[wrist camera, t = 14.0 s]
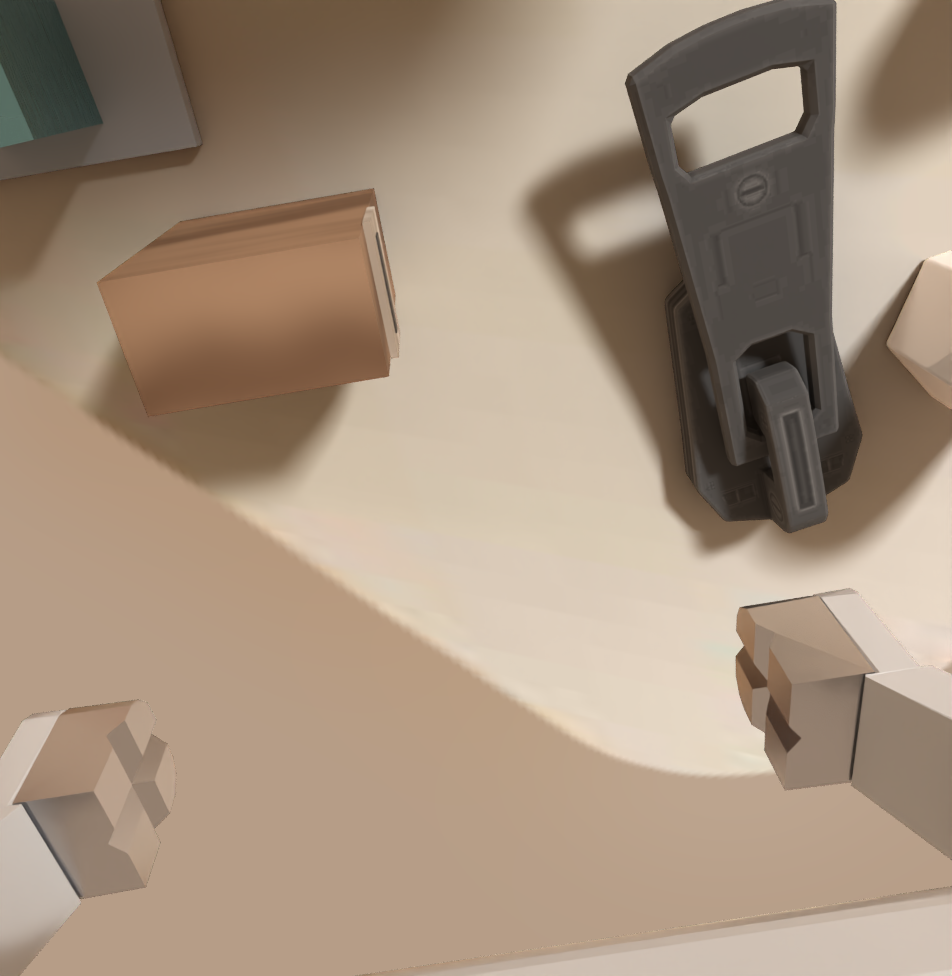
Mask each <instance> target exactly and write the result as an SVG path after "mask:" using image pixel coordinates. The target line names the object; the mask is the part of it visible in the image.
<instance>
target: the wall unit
mask: <svg viewBox="0 0 952 976" xmlns="http://www.w3.org/2000/svg"><path fill="white" fill-rule="evenodd" d="M97 285H98V287H99V290H100V292H101V295H102V298H103V300H104V303H105V306H106V308H107V311H108V313H109V316H110V319H111V321H112V324H113V326H114V329H115V332H116V334H117V337H118V339H119V342H120V345H121V347H122V350H123V353H124V355H125V358H126V360H127V363H128V366H129V368H130V371H131V373H132V376H133V379H134V381H135V384H136V386H137V389H138V392H139V394H140V397H141V400H142V402H143V405H144V407H145V410H146V413H147V415H148V417H149V416H155V415H161V414H167V413H173V412H179V411H185V410H191V409H197V408H203V407H209V406H215V405H221V404H227V403H233V402H239V401H244V400H250V399H256V398H262V397H268V396H274V395H280V394H286V393H292V392H298V391H304V390H310V389H316V388H322V387H328V386H334V385H340V384H346V383H352V382H358V381H364V380H370V379H376V378H382V377H388V376H389V369H390V357H391V359H392V358H398V357H399V342H400V330H399V325H398V320H397V315H396V310H395V291H394V286H393V281H392V276H391V271H390V266H389V261H388V256H387V251H386V246H385V241H384V237H383V232H382V227H381V222H380V217H379V212H378V207H377V202H376V197H375V192H374V188H373V189H368V190H362V191H356V192H350V193H344V194H338V195H333V196H327V197H321V198H315V199H309V200H303V201H297V202H292V203H286V204H280V205H274V206H268V207H262V208H256V209H251V210H245V211H239V212H233V213H227V214H221V215H215V216H210V217H204V218H198V219H192V220H186V221H180V222H179V223H178V224H176V225H175V226H173V227H172V228H171V229H169V230H168V231H167V232H165V233H164V234H163V235H161V236H160V237H158V238H157V239H156V240H154V241H153V242H152V243H150V244H149V245H147V246H146V247H145V248H143V249H142V250H141V251H139V252H138V253H137V254H135V255H134V256H132V257H131V258H130V259H128V260H127V261H126V262H124V263H123V264H121V265H120V266H119V267H117V268H116V269H115V270H113V271H112V272H111V273H109V274H108V275H106V276H105V277H104V278H102V279H101V280H100V281H98V282H97Z"/></svg>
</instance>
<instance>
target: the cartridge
mask: <svg viewBox="0 0 952 976" xmlns="http://www.w3.org/2000/svg"><path fill="white" fill-rule="evenodd" d="M98 124H103V121H102V119H101V116H100V114H99V111H98V109H97V106H96V104H95V101H94V98H93V96H92V93H91V91H90V88H89V86H88V83H87V81H86V78H85V76H84V73H83V71H82V68H81V66H80V63H79V61H78V58H77V56H76V53H75V51H74V48H73V46H72V43H71V40H70V38H69V35H68V33H67V30H66V28H65V25H64V23H63V20H62V18H61V15H60V13H59V10H58V8H57V5H56V3H55V1H53V0H0V148H1V147H5V146H10V145H14V144H18V143H22V142H27V141H31V140H35V139H39V138H43V137H48V136H52V135H56V134H60V133H65V132H69V131H73V130H77V129H82V128H86V127H90V126H94V125H98Z"/></svg>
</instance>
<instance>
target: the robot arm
mask: <svg viewBox="0 0 952 976" xmlns="http://www.w3.org/2000/svg"><path fill="white" fill-rule="evenodd" d="M736 631H737V633H738V635H739V637H740V639H741V641H742V642H743V644H744V647H743V648H742V649H741V650H740V652H739V653H738V654H737V655H736V679H737V684H738V690H739V695H740V698H741V701H742V704H743V707H744V710H745V712H746V714H747V716H748V718H749V720H750V722H751V724H752V725H753V726H755V727H756V728H758V729H760V730H761V731H763V732H764V733H765V748H764V751H765V753H766V754H767V756H768V758H769V760H770V762H771V764H772V766H773V768H774V770H775V772H776V774H777V776H778V778H779V780H780V782H781V784H782V786H783V788H784V789H785V790H793V789H801V788H808V787H817V786H825V785H833V784H841V783H849V782H852V783H851V786H853V787H854V788H855V789H857V790H858V791H859V792H861V793H862V794H863V795H865V796H866V797H867V798H869V799H870V800H872V801H873V802H874V803H876V804H877V805H878V806H880V807H881V808H882V809H884V810H885V811H886V812H888V813H889V814H890V815H892V816H893V817H894V818H896V819H897V820H898V821H900V822H901V823H903V824H904V825H905V826H906V827H908V828H909V829H910V830H912V831H913V832H915V833H916V834H918V835H919V836H920V837H921V838H923V839H924V840H925V841H927V842H928V843H929V844H931V845H932V846H933V847H935V848H936V849H937V850H939V851H940V852H941V853H943V854H944V855H946V856H947V857H948V858H950V859H951V860H952V674H950V673H948V672H946V671H943V670H941V669H939V668H937V667H935V666H932V665H928V666H921V667H920V666H919V665H918V664H917V662H916V661H915V660H914V659H913V658H912V656H911V655H910V654H909V653H908V652H907V650H906V649H905V648H904V647H903V646H902V644H901V643H900V642H899V641H898V640H897V638H896V637H895V636H894V635H893V634H892V632H891V631H890V630H889V629H888V628H887V626H886V625H885V624H884V623H883V622H882V620H881V619H880V618H879V617H878V616H877V614H876V613H875V612H874V611H873V610H872V608H871V607H870V606H869V605H868V604H867V602H866V601H865V600H864V599H863V598H862V596H861V595H860V594H859V593H858V592H857V591H855V590H853V589H851V588H848V589H842V590H836V591H831V592H825V593H819V594H814V595H813V596H807V597H800V598H794V599H788V600H782V601H775V602H769V603H763V604H757V605H750V606H744V607H740V608H739V611H738V614H737V625H736ZM155 723H156V718H155V716H154V714H153V712H152V711H151V708H150V706H149V705H148V703H147V702H145V701H142V700H131V701H123V702H115V703H108V704H100V705H92V706H85V707H77V708H69V709H68V710H59V711H51V712H45V713H36V714H32V715H30V716H29V717H27V718H26V719H24V720H23V721H22V722H21V724H20V726H19V727H18V729H17V731H16V732H15V734H14V736H13V738H12V739H11V741H10V742H9V744H8V746H7V748H6V749H5V751H4V753H3V754H2V756H1V758H0V976H20V974H21V973H22V972H23V971H24V970H25V969H26V967H27V966H28V965H29V964H30V963H31V962H32V960H33V959H34V958H35V957H36V956H37V954H38V953H39V952H40V951H41V950H42V949H43V947H44V946H45V945H46V944H47V943H48V942H49V940H50V939H51V938H52V937H53V936H54V934H55V933H56V932H57V931H58V929H59V928H60V927H61V926H62V925H63V924H64V923H65V921H66V920H67V919H68V918H69V917H70V916H71V914H72V913H73V912H74V911H75V910H76V908H77V907H78V906H79V905H80V904H81V900H80V899H84V898H89V897H95V896H101V895H106V894H112V893H117V892H123V891H128V890H134V889H139V888H145V887H146V886H147V883H148V879H149V876H150V873H151V870H152V867H153V864H154V861H155V858H156V855H157V852H158V849H159V846H160V843H161V842H160V840H159V838H158V836H157V834H156V832H155V830H154V829H155V828H156V827H157V826H158V825H159V824H160V823H161V822H162V821H163V820H164V819H165V817H167V816H168V815H169V814H170V811H171V808H172V804H173V801H174V798H175V792H176V768H175V764H174V759H173V755H172V753H171V751H170V748H169V746H168V744H167V743H166V742H164V741H162V740H161V739H159V738H158V737H156V736H154V735H153V734H151V733H152V730H153V728H154V725H155ZM357 976H952V886H950V887H943V888H936V889H930V890H923V891H916V892H910V893H903V894H896V895H890V896H883V897H876V898H869V899H863V900H856V901H849V902H843V903H836V904H829V905H823V906H816V907H809V908H803V909H796V910H790V911H783V912H776V913H769V914H763V915H756V916H750V917H743V918H736V919H729V920H723V921H717V922H710V923H703V924H696V925H690V926H684V927H677V928H670V929H663V930H656V931H650V932H643V933H636V934H630V935H623V936H616V937H610V938H603V939H597V940H590V941H584V942H577V943H570V944H563V945H557V946H551V947H544V948H537V949H530V950H523V951H517V952H510V953H504V954H497V955H490V956H483V957H477V958H470V959H463V960H457V961H450V962H443V963H437V964H430V965H423V966H417V967H410V968H404V969H397V970H390V971H384V972H377V973H370V974H363V975H357Z"/></svg>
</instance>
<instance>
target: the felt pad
mask: <svg viewBox="0 0 952 976" xmlns="http://www.w3.org/2000/svg"><path fill="white" fill-rule="evenodd" d="M53 1H55V3H56V5H57V8H58V10H59V13H60V15H61V18H62V20H63V23H64V25H65V28H66V30H67V33H68V35H69V38H70V40H71V43H72V46H73V48H74V51H75V53H76V56H77V58H78V61H79V63H80V66H81V68H82V71H83V73H84V76H85V78H86V81H87V83H88V86H89V88H90V91H91V93H92V96H93V98H94V101H95V104H96V106H97V109H98V111H99V114H100V116H101V119H102V121H103V124H98V125H94V126H90V127H86V128H82V129H77V130H73V131H69V132H65V133H60V134H56V135H52V136H48V137H43V138H39V139H35V140H31V141H27V142H22V143H18V144H14V145H10V146H5V147H1V148H0V180H5V179H11V178H17V177H23V176H28V175H34V174H40V173H46V172H52V171H58V170H63V169H69V168H75V167H81V166H87V165H92V164H98V163H104V162H110V161H116V160H121V159H127V158H133V157H139V156H145V155H150V154H156V153H162V152H168V151H174V150H179V149H185V148H191V147H197V146H199V145H202V140H201V137H200V134H199V130H198V127H197V123H196V120H195V117H194V113H193V110H192V106H191V103H190V100H189V96H188V93H187V89H186V86H185V83H184V79H183V76H182V72H181V69H180V66H179V62H178V59H177V55H176V52H175V49H174V45H173V42H172V38H171V35H170V31H169V28H168V25H167V21H166V18H165V14H164V11H163V8H162V4H161V1H160V0H53Z"/></svg>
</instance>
